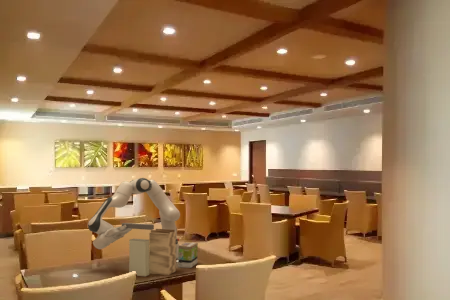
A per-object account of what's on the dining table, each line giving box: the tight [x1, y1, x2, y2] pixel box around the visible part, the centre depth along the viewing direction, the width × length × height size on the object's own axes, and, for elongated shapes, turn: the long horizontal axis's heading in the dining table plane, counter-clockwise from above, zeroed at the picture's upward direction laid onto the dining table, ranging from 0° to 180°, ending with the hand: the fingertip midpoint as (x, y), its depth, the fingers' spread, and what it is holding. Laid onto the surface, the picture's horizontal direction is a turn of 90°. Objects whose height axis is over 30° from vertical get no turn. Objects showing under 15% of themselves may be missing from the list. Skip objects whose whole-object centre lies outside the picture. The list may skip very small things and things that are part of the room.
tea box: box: [177, 241, 198, 269], centre depth 285 cm, size 15×10×15 cm, turn 168°
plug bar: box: [121, 222, 155, 231], centre depth 262 cm, size 3×22×3 cm, turn 68°
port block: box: [128, 238, 150, 277], centre depth 260 cm, size 4×12×22 cm, turn 68°
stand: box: [148, 228, 177, 276], centre depth 267 cm, size 10×14×28 cm
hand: (128, 225), depth 264 cm, fingers closed on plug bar, 3 cm apart
